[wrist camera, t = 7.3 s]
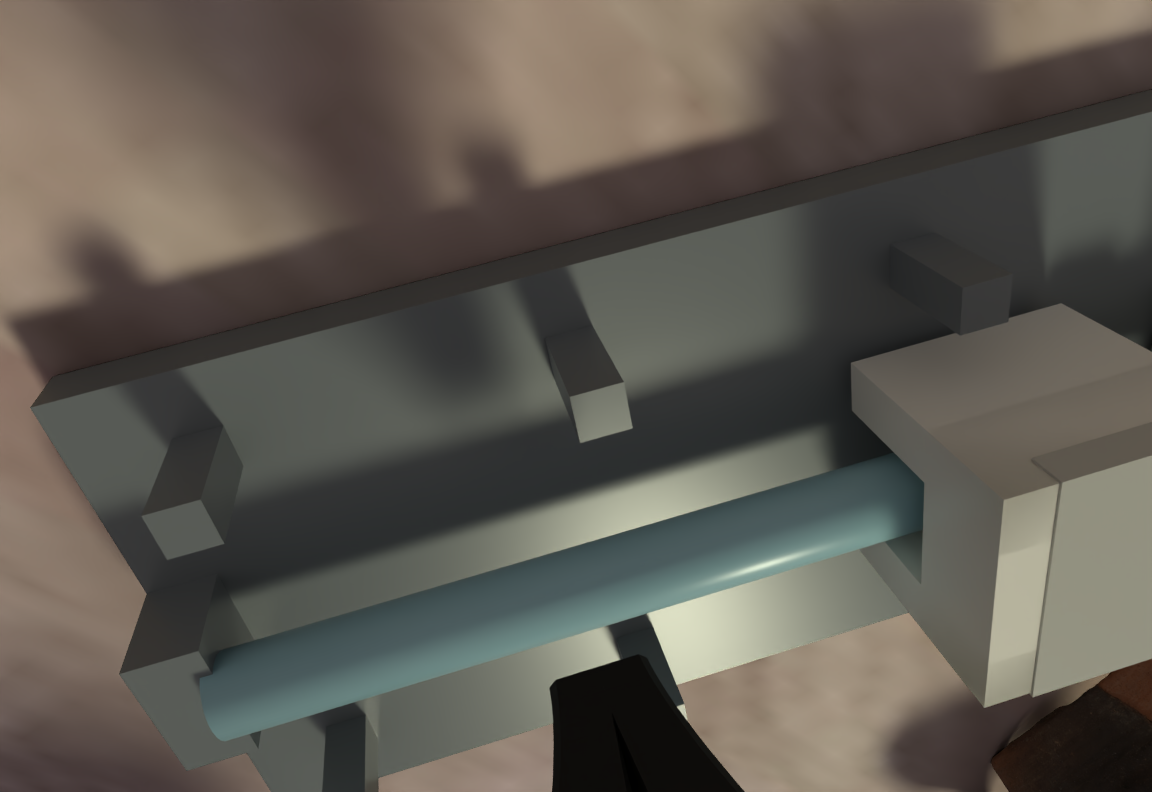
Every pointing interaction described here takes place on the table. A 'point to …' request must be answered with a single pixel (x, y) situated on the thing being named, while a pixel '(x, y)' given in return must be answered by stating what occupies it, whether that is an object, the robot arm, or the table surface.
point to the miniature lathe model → (569, 451)
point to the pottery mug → (1088, 741)
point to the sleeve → (1022, 498)
